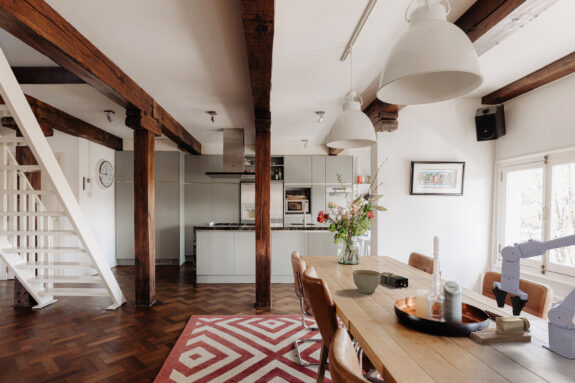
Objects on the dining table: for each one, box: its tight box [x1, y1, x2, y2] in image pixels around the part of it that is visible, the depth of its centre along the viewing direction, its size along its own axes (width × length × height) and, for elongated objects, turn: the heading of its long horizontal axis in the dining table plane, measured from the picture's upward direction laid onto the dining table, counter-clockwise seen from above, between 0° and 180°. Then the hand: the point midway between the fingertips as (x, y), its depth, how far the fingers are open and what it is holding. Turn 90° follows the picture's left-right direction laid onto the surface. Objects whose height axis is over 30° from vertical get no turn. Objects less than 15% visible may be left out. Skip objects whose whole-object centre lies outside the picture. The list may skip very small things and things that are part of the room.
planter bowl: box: [352, 269, 382, 294], centre depth 178 cm, size 16×16×11 cm
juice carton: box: [379, 272, 409, 289], centre depth 195 cm, size 20×10×6 cm, turn 18°
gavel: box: [484, 309, 531, 330], centre depth 133 cm, size 21×5×10 cm
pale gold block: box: [495, 315, 525, 335], centre depth 117 cm, size 4×8×5 cm, turn 97°
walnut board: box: [469, 327, 532, 345], centre depth 116 cm, size 8×20×2 cm, turn 97°
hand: (508, 311), depth 117 cm, fingers open, 7 cm apart
